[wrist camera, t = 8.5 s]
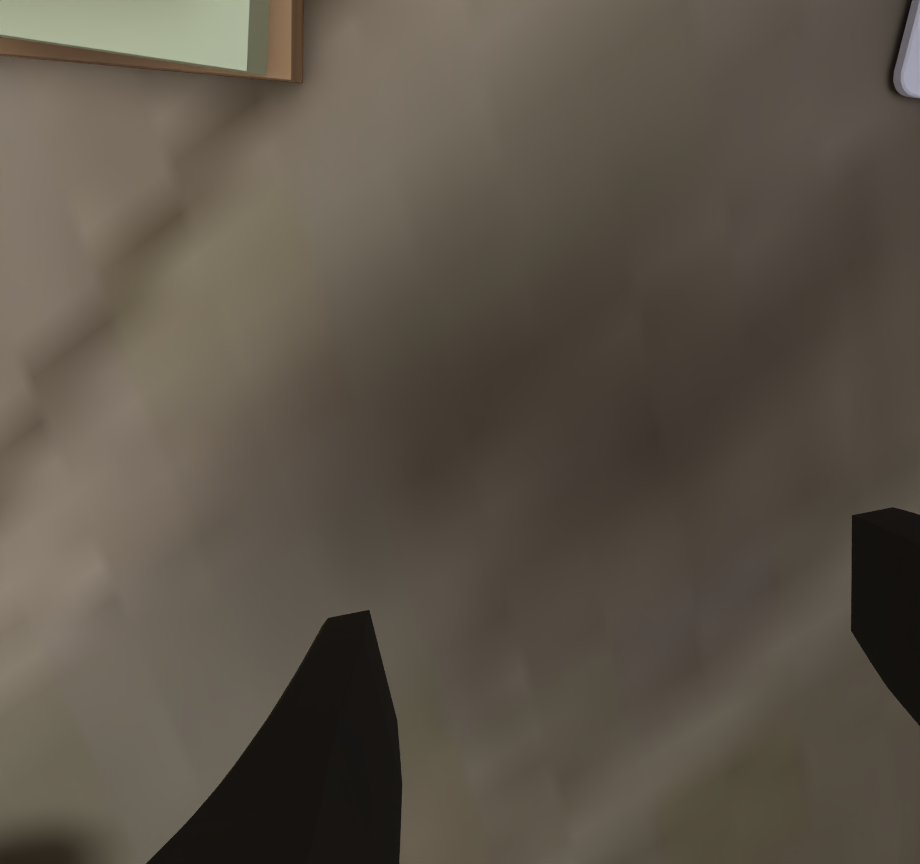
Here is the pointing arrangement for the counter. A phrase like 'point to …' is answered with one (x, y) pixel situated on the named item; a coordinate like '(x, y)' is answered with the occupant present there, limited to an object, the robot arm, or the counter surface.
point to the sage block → (149, 29)
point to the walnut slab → (279, 67)
